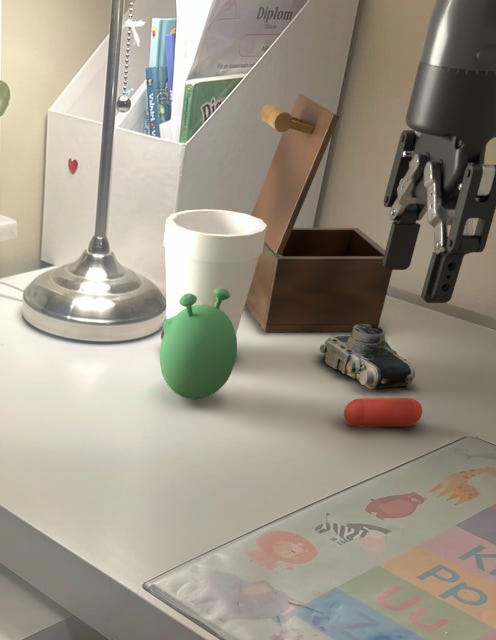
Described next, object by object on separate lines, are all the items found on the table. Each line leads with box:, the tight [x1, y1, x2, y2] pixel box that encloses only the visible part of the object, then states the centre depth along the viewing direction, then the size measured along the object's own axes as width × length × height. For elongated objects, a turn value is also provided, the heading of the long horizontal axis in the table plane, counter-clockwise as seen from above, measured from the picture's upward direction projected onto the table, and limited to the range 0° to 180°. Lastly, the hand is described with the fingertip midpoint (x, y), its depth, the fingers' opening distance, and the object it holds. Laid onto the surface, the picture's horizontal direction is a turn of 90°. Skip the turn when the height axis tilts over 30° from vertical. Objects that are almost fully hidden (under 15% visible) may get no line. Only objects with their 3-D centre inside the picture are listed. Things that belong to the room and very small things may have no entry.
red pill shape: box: [343, 397, 423, 428], centre depth 87 cm, size 7×2×2 cm, turn 94°
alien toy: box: [159, 288, 238, 400], centre depth 90 cm, size 7×8×10 cm
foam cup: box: [163, 208, 267, 334], centre depth 97 cm, size 10×9×13 cm
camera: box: [319, 324, 416, 390], centre depth 97 cm, size 5×10×4 cm, turn 16°
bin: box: [245, 227, 393, 333], centre depth 109 cm, size 13×12×8 cm
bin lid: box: [250, 93, 341, 255], centre depth 101 cm, size 13×12×5 cm
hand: (413, 284), depth 81 cm, fingers open, 8 cm apart
